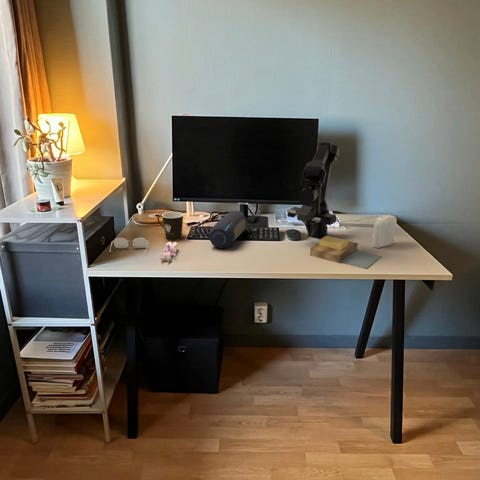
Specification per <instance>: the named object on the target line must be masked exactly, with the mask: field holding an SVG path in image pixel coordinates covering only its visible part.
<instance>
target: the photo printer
mask: <svg viewBox="0 0 480 480" xmlns="http://www.w3.org/2000/svg"><path fill="white" fill-rule="evenodd" d="M378 217H379V218H377V219H376V220H375V222H374V227H372V228H373V230H372V237H371V247H373V248H376V249H378V248H384V247H387V246H390V245H394V244H395V239H396V238H395V236H396V228H397V222H398V220H397V219H398V218H397V217H396V216H395V215H392V214H385V215H382V216H378Z"/></svg>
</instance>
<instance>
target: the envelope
mask: <svg viewBox="0 0 480 480" xmlns="http://www.w3.org/2000/svg"><path fill="white" fill-rule="evenodd" d="M334 214H335V215H336V216H337V217H338V218H339V219H340V225H342V226H345V228H346V227H348V228H350V227H351V228H374V222H375V220H376V219H377V218H379V217H380V216H378V215H373V214H372V215H370V214H369V215H368V214H367V215H366V214H347V213H345V214H344V213H334Z"/></svg>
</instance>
